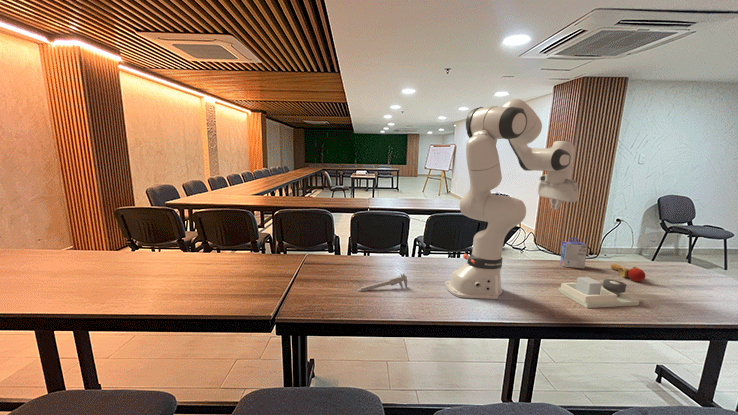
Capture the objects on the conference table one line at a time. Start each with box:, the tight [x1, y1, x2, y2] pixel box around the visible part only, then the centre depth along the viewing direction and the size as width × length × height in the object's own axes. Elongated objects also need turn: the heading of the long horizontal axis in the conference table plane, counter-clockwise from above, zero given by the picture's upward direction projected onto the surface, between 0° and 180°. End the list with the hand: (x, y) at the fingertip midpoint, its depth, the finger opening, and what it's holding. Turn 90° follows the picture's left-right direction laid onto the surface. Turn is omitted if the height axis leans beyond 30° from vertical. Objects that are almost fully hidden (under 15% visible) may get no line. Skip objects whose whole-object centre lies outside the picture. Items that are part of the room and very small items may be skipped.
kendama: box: [610, 263, 646, 283], centre depth 144 cm, size 8×6×18 cm
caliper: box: [357, 272, 408, 292], centre depth 123 cm, size 20×1×6 cm, turn 104°
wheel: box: [602, 278, 627, 294], centre depth 121 cm, size 7×7×3 cm
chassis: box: [557, 281, 640, 309], centre depth 120 cm, size 22×14×4 cm, turn 98°
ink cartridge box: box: [559, 237, 588, 269], centre depth 155 cm, size 10×6×14 cm, turn 78°
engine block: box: [576, 276, 603, 295], centre depth 119 cm, size 5×6×6 cm
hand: (555, 209), depth 138 cm, fingers closed
